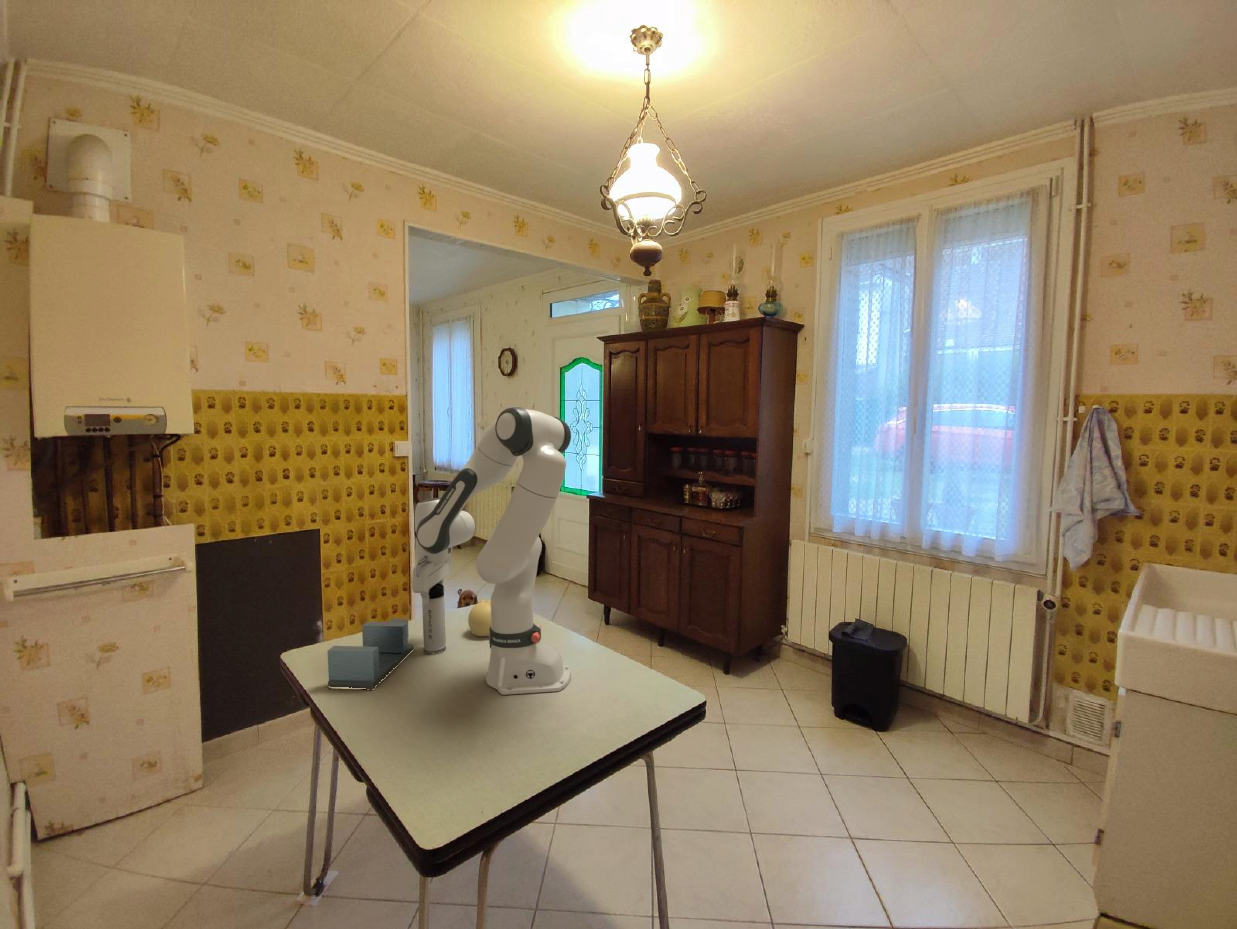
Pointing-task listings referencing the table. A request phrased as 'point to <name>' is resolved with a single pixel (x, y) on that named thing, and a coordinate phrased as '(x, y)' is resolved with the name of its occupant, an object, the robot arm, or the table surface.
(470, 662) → the table surface
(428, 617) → the travel mug
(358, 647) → the vise
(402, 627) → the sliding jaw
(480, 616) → the sculpture
